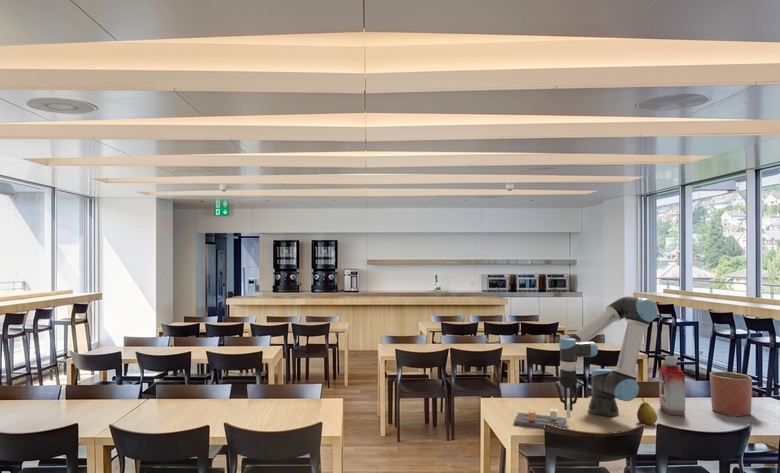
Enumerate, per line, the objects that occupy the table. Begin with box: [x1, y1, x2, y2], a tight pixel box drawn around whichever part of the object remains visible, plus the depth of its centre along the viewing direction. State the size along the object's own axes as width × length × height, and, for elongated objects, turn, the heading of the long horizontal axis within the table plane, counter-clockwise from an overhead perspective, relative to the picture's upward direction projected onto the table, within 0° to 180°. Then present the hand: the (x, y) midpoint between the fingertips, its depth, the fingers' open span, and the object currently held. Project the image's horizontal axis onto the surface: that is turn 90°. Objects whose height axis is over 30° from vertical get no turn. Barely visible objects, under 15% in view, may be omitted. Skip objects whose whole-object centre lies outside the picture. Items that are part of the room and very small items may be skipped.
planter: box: [709, 371, 753, 417], centre depth 275 cm, size 19×19×20 cm
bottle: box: [658, 355, 686, 417], centre depth 275 cm, size 14×10×30 cm
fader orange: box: [528, 410, 537, 421], centre depth 252 cm, size 3×4×4 cm
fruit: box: [636, 397, 658, 426], centre depth 255 cm, size 9×9×12 cm
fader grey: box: [549, 408, 558, 420], centre depth 255 cm, size 3×4×4 cm
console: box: [514, 412, 568, 429], centre depth 254 cm, size 24×15×2 cm, turn 69°
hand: (568, 416), depth 252 cm, fingers closed
